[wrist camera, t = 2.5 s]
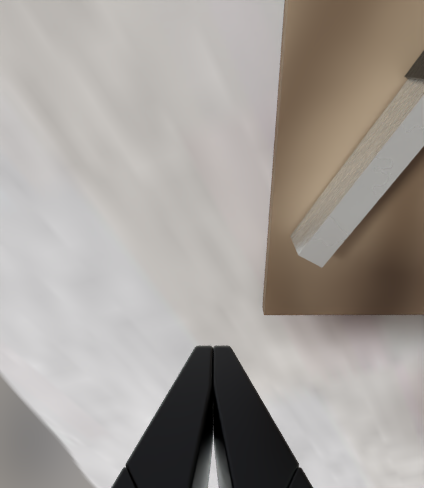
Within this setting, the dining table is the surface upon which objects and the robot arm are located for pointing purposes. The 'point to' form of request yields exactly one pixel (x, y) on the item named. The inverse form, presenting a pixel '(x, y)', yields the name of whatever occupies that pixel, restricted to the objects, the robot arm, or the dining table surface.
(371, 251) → the board
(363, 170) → the bar
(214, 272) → the dining table surface
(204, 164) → the dining table surface
